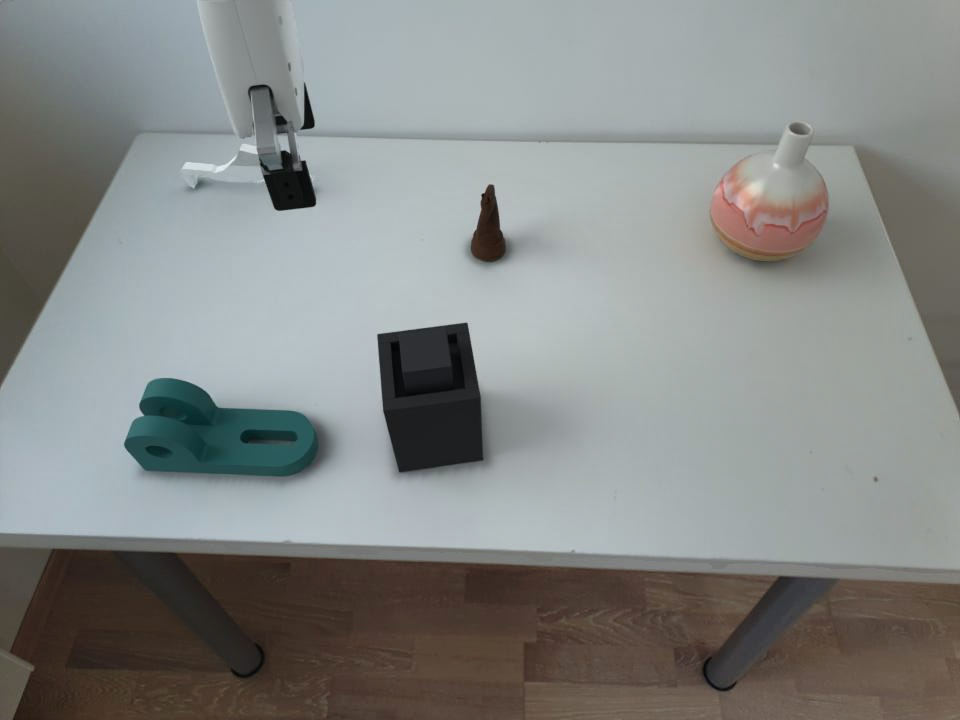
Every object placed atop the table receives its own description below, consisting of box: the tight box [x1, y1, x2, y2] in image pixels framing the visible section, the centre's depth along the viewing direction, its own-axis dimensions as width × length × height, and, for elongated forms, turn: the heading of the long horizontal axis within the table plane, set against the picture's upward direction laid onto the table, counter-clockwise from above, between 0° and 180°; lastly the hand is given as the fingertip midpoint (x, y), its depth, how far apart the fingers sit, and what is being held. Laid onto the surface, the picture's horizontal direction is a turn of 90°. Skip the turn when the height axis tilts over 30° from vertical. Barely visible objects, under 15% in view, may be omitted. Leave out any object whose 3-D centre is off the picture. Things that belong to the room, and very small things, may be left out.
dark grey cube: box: [399, 328, 454, 396], centre depth 67 cm, size 4×4×4 cm
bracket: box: [123, 377, 319, 477], centre depth 74 cm, size 18×7×8 cm, turn 87°
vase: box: [709, 119, 830, 262], centre depth 86 cm, size 14×14×18 cm
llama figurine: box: [178, 143, 316, 189], centre depth 99 cm, size 2×11×18 cm
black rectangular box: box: [376, 322, 484, 473], centre depth 72 cm, size 9×9×12 cm
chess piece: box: [470, 183, 507, 263], centre depth 89 cm, size 5×5×10 cm
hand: (296, 165), depth 57 cm, fingers open, 9 cm apart
